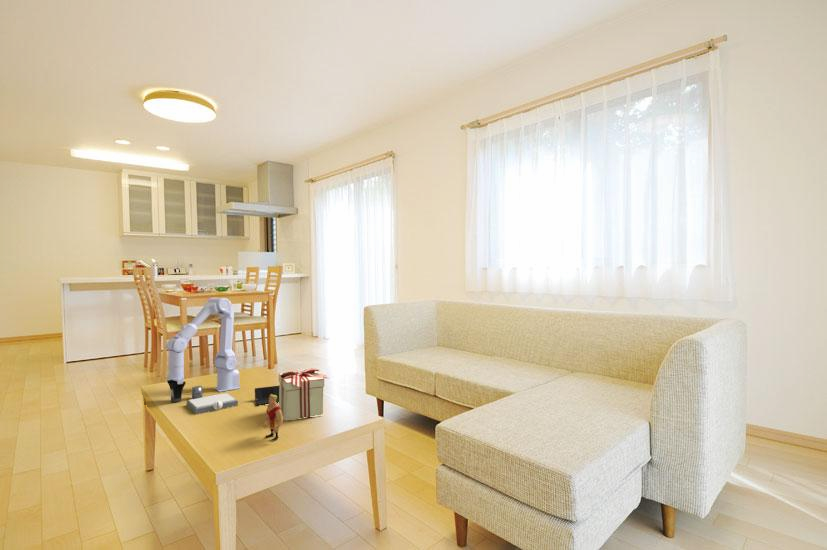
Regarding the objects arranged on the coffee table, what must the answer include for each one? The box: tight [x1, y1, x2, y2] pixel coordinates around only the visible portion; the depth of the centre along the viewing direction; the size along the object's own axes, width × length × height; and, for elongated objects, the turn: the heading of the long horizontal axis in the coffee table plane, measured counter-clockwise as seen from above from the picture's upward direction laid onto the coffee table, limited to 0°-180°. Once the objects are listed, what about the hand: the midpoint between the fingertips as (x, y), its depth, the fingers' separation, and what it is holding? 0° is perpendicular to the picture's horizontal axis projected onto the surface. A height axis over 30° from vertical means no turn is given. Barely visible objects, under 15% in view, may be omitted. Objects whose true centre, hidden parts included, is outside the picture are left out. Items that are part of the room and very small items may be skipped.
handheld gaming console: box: [254, 385, 279, 407], centre depth 176 cm, size 12×7×10 cm
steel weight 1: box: [170, 389, 183, 403], centre depth 175 cm, size 4×4×5 cm
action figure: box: [262, 394, 284, 441], centre depth 136 cm, size 10×4×15 cm, turn 47°
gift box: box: [278, 367, 329, 422], centre depth 160 cm, size 17×18×17 cm
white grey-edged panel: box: [186, 392, 239, 415], centre depth 169 cm, size 16×15×4 cm
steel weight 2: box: [191, 385, 203, 399], centre depth 179 cm, size 4×4×5 cm
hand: (176, 397), depth 175 cm, fingers closed on steel weight 1, 4 cm apart
